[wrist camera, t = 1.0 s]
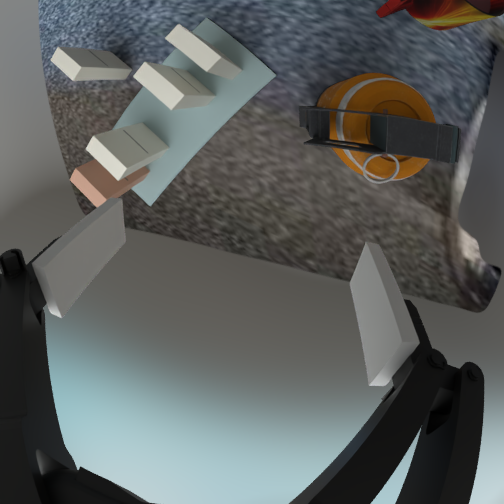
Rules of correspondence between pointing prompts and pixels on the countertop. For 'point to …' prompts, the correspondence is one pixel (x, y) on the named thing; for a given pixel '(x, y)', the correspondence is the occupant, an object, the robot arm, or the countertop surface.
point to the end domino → (103, 182)
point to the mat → (198, 118)
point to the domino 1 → (90, 64)
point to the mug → (445, 11)
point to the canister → (379, 127)
